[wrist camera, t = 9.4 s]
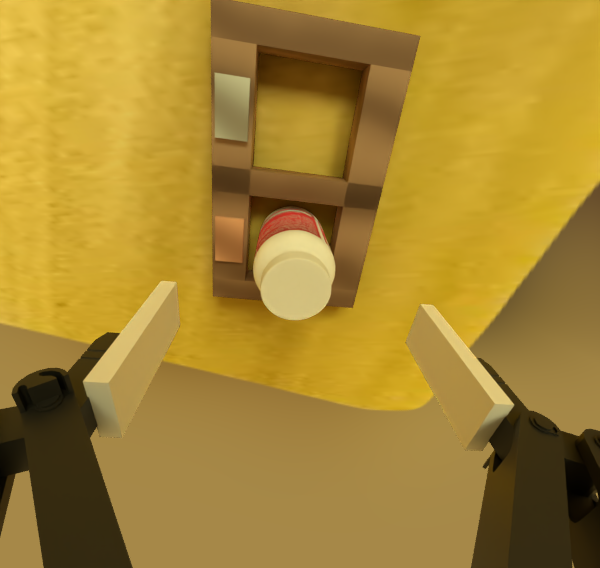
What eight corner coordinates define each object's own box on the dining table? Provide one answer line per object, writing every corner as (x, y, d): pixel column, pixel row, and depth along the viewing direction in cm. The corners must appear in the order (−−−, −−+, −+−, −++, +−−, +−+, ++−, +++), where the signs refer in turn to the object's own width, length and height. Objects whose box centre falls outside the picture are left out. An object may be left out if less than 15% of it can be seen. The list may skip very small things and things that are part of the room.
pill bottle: (246, 234, 29) (227, 289, 19) (293, 190, 27) (299, 226, 17) (289, 276, 31) (293, 344, 21) (335, 238, 29) (362, 293, 19)
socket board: (218, 10, 21) (209, -7, 18) (406, 45, 22) (422, 34, 20) (217, 284, 31) (212, 298, 28) (347, 295, 32) (353, 309, 30)
